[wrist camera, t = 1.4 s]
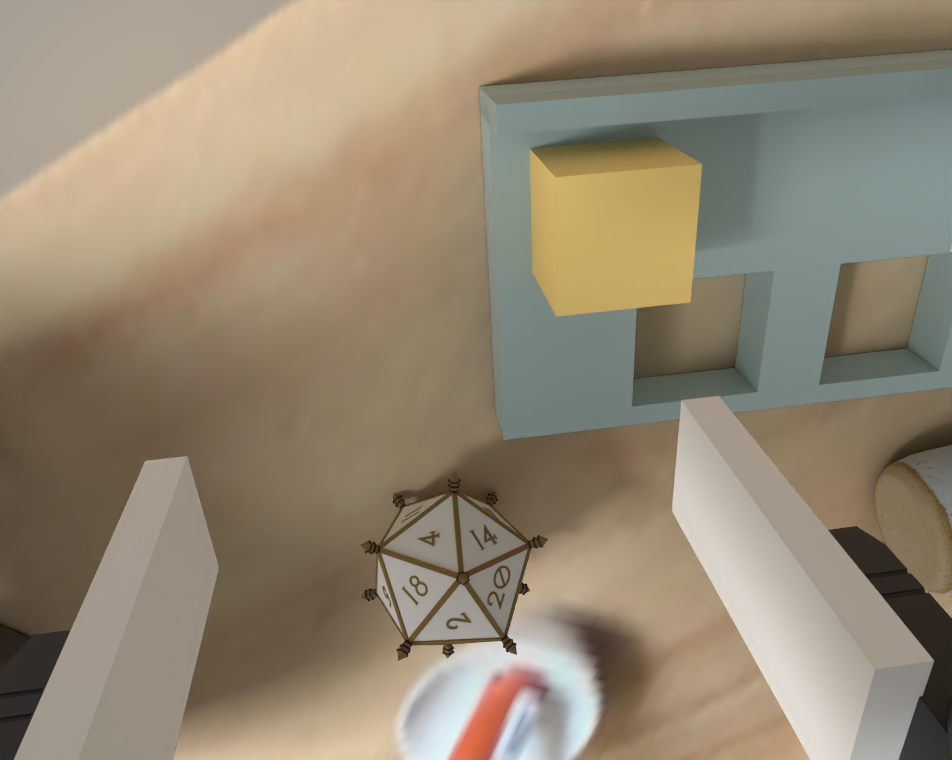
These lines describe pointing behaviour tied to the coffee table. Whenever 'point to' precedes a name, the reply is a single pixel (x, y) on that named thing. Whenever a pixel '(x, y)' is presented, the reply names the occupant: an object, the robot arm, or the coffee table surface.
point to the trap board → (733, 231)
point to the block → (613, 224)
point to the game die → (450, 571)
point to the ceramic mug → (919, 515)
